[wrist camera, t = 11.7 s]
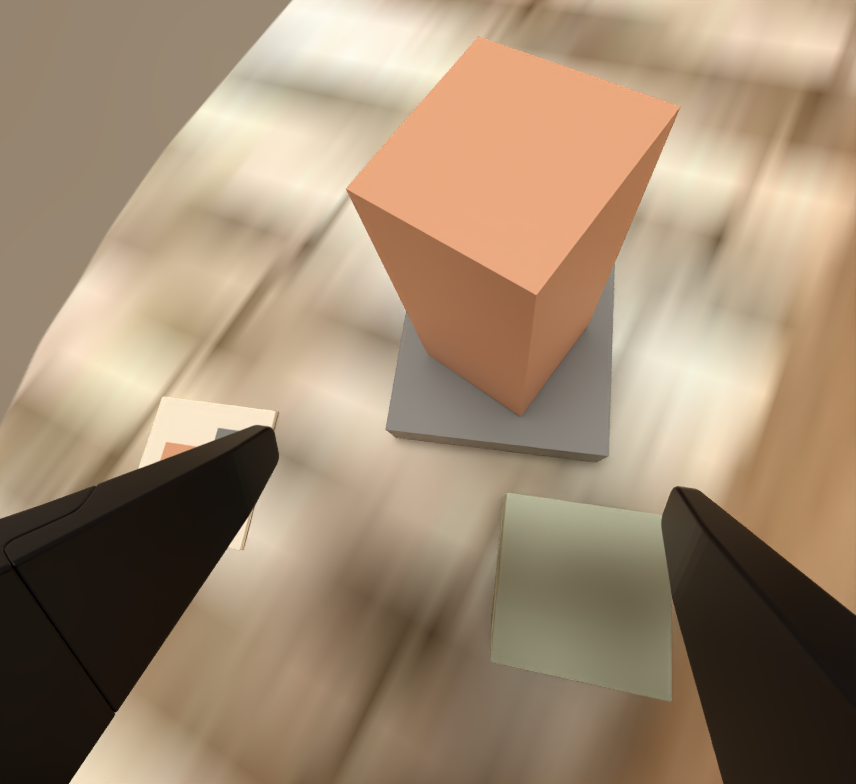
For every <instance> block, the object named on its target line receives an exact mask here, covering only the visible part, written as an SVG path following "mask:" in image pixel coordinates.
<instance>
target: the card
mask: <svg viewBox="0 0 856 784" xmlns="http://www.w3.org/2000/svg"><path fill="white" fill-rule="evenodd" d="M277 415H278V412H277V411H271V410H263V409H256V408H248V407H240V406H232V405H225V404H217V403H209V402H202V401H194V400H186V399H178V398H171V397H162V400H161V403H160V406H159V409H158V412H157V415H156V418H155V421H154V424H153V427H152V430H151V433H150V436H149V439H148V442H147V445H146V448H145V450H144V453H143V456H142V459H141V462H140V465H139V468H142V467H145V466H147V465H150V464H153V463H155V462H158V461H161V460H163V459H166V458H168V457H171V456H174V455H176V454H179V453H182V452H184V451H187V450H190V449H192V448H195V447H198V446H200V445H203V444H206V443H208V442H211V441H213V440H216V439H219V438H221V437H224V436H227V435H229V434H232V433H235V432H237V431H240V430H243V429H245V428H248V427H251V426H253V425H263V426H269V427H271V428H273V430H274V427H275V423H276V419H277ZM139 468H138V469H139ZM253 509H254V508H253ZM252 513H253V510H252V512H251V513H250V515H249V517H248V518H247V520H246V521H245V523H244V524H243V526H242V527H241V529H240V530H239V532H238V533H237V535H236V536H235V538H234V539H233V541H232V542H231V544H230V545H229V547H228V548H233V549H237V550H243V548H244V544H245V540H246V536H247V532H248V528H249V524H250V520H251V516H252Z"/></svg>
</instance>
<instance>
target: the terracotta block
mask: <svg viewBox="0 0 856 784" xmlns="http://www.w3.org/2000/svg"><path fill="white" fill-rule="evenodd" d="M679 109H680V106H677V105H674V104H671V103H669V102H666V101H663V100H660V99H657V98H654V97H651V96H648V95H646V94H643V93H640V92H637V91H634V90H631V89H628V88H625V87H622V86H620V85H617V84H614V83H611V82H608V81H605V80H602V79H599V78H597V77H594V76H591V75H588V74H585V73H582V72H579V71H576V70H573V69H571V68H568V67H565V66H562V65H559V64H556V63H553V62H550V61H548V60H545V59H542V58H539V57H536V56H533V55H530V54H527V53H524V52H522V51H519V50H516V49H513V48H510V47H507V46H504V45H501V44H499V43H496V42H493V41H490V40H487V39H484V38H481V37H478V38H477V39H476V40H475V41H474V42H473V43H472V44H471V46H470V47H469V48H468V49H467V50H466V51H465V52H464V54H463V55H462V56H461V57H460V58H459V59H458V60H457V62H456V63H455V64H454V65H453V66H452V67H451V69H450V70H449V71H448V72H447V73H446V74H445V75H444V77H443V78H442V79H441V80H440V81H439V82H438V83H437V85H436V86H435V87H434V88H433V89H432V90H431V91H430V93H429V94H428V95H427V96H426V97H425V98H424V100H423V101H422V102H421V103H420V104H419V105H418V106H417V108H416V109H415V110H414V111H413V112H412V113H411V114H410V116H409V117H408V118H407V119H406V120H405V121H404V122H403V124H402V125H401V126H400V127H399V128H398V129H397V130H396V132H395V133H394V134H393V135H392V136H391V137H390V139H389V140H388V141H387V142H386V143H385V144H384V145H383V147H382V148H381V149H380V150H379V151H378V152H377V153H376V155H375V156H374V157H373V158H372V159H371V160H370V161H369V163H368V164H367V165H366V166H365V167H364V168H363V170H362V171H361V172H360V173H359V174H358V175H357V176H356V178H355V179H354V180H353V181H352V182H351V183H350V184H349V186H348V187H347V188H346V190H347V192H348V194H349V196H350V198H351V200H352V202H353V204H354V206H355V208H356V210H357V212H358V214H359V216H360V218H361V220H362V222H363V224H364V226H365V228H366V230H367V233H368V235H369V237H370V239H371V241H372V243H373V245H374V247H375V249H376V251H377V253H378V255H379V257H380V259H381V261H382V263H383V265H384V267H385V269H386V271H387V273H388V275H389V277H390V279H391V281H392V283H393V285H394V287H395V289H396V291H397V293H398V295H399V297H400V299H401V301H402V303H403V305H404V308H405V310H406V312H407V314H408V316H409V318H410V320H411V322H412V324H413V326H414V328H415V330H416V332H417V334H418V336H419V338H420V340H421V342H422V344H423V346H424V348H425V350H426V352H427V354H428V355H430V356H431V357H433V358H434V359H436V360H437V361H439V362H440V363H442V364H443V365H445V366H446V367H448V368H449V369H450V370H452V371H453V372H455V373H456V374H458V375H459V376H461V377H462V378H464V379H465V380H467V381H468V382H470V383H471V384H473V385H474V386H476V387H477V388H479V389H480V390H481V391H483V392H484V393H486V394H487V395H489V396H490V397H492V398H493V399H495V400H496V401H498V402H499V403H501V404H502V405H504V406H505V407H507V408H508V409H510V410H511V411H512V412H514V413H515V414H517V415H518V416H520V417H521V416H522V415H523V413H524V412H525V411H526V409H527V408H528V407H529V405H530V404H531V402H532V401H533V400H534V398H535V397H536V396H537V394H538V393H539V392H540V390H541V389H542V387H543V386H544V385H545V383H546V382H547V381H548V379H549V378H550V377H551V375H552V374H553V373H554V371H555V370H556V368H557V367H558V366H559V364H560V363H561V362H562V360H563V359H564V358H565V356H566V355H567V353H568V352H569V351H570V349H571V348H572V347H573V345H574V344H575V343H576V341H577V340H578V339H579V337H580V336H581V334H582V333H583V332H584V330H585V329H586V328H587V326H588V325H589V323H590V320H591V318H592V316H593V313H594V311H595V309H596V306H597V304H598V301H599V299H600V297H601V294H602V292H603V290H604V287H605V285H606V282H607V280H608V278H609V275H610V273H611V271H612V268H613V266H614V263H615V261H616V259H617V256H618V254H619V252H620V249H621V247H622V244H623V242H624V240H625V237H626V235H627V233H628V230H629V228H630V225H631V223H632V221H633V218H634V216H635V214H636V211H637V209H638V206H639V204H640V202H641V199H642V197H643V195H644V192H645V190H646V187H647V185H648V183H649V180H650V178H651V176H652V173H653V171H654V168H655V166H656V164H657V161H658V159H659V156H660V154H661V152H662V149H663V147H664V145H665V142H666V140H667V137H668V135H669V133H670V130H671V128H672V126H673V123H674V121H675V118H676V116H677V114H678V111H679Z"/></svg>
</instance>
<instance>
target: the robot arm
mask: <svg viewBox="0 0 856 784" xmlns="http://www.w3.org/2000/svg"><path fill="white" fill-rule="evenodd" d="M278 460H279V452H278V447H277V442H276V437H275V432H274V430H273V428H271V427H269V426H263V425H253V426H251V427H248V428H245V429H243V430H240V431H237V432H235V433H232V434H229V435H227V436H224V437H221V438H219V439H216V440H213V441H211V442H208V443H206V444H203V445H200V446H198V447H195V448H192V449H190V450H187V451H184V452H182V453H179V454H176V455H174V456H171V457H168V458H166V459H163V460H161V461H158V462H155V463H153V464H150V465H147V466H145V467H142V468H139V469H137V470H134V471H131V472H129V473H126V474H123V475H121V476H118V477H115V478H113V479H110V480H108V481H105V482H102V483H100V484H98V485H97V486H91V487H89V488H86V489H84V490H81V491H78V492H76V493H73V494H70V495H67V496H65V497H62V498H59V499H56V500H54V501H51V502H48V503H45V504H43V505H40V506H37V507H34V508H31V509H28V510H25V511H22V512H19V513H16V514H13V515H10V516H7V517H4V518H1V519H0V784H69V783H70V781H71V780H72V778H73V777H74V775H75V774H76V772H77V771H78V769H79V768H80V766H81V765H82V763H83V762H84V760H85V759H86V757H87V756H88V754H89V753H90V752H91V750H92V749H93V747H94V746H95V744H96V743H97V741H98V740H99V738H100V737H101V735H102V734H103V732H104V731H105V729H106V728H107V726H108V725H109V723H110V722H111V720H112V719H113V717H114V716H115V713H114V712H117V711H118V710H119V708H120V707H121V705H122V704H123V702H124V701H125V699H126V698H127V696H128V695H129V693H130V692H131V690H132V689H133V687H134V686H135V684H136V683H137V681H138V680H139V679H140V677H141V676H142V674H143V673H144V671H145V670H146V668H147V667H148V665H149V664H150V662H151V661H152V659H153V658H154V656H155V655H156V653H157V652H158V650H159V649H160V647H161V646H162V644H163V643H164V641H165V640H166V638H167V637H168V636H169V634H170V633H171V631H172V630H173V628H174V627H175V625H176V624H177V622H178V621H179V619H180V618H181V616H182V615H183V613H184V612H185V610H186V609H187V607H188V606H189V604H190V603H191V601H192V600H193V598H194V597H195V596H196V594H197V593H198V591H199V590H200V588H201V587H202V585H203V584H204V582H205V581H206V579H207V578H208V576H209V575H210V573H211V572H212V570H213V569H214V567H215V566H216V564H217V563H218V561H219V560H220V558H221V557H222V556H223V554H224V553H225V551H226V550H227V548H228V547H229V545H230V544H231V542H232V541H233V539H234V538H235V536H236V535H237V533H238V532H239V530H240V529H241V527H242V526H243V524H244V523H245V521H246V520H247V518H248V517H249V515H250V513H251V512H252V510H253V508H254V506H255V504H256V503H257V501H258V499H259V497H260V495H261V493H262V491H263V490H264V488H265V486H266V484H267V482H268V480H269V478H270V476H271V475H272V473H273V471H274V469H275V467H276V465H277V463H278ZM661 529H662V536H663V542H664V549H665V555H666V562H667V568H668V575H669V582H670V588H671V593H672V599H673V603H674V607H675V611H676V614H677V618H678V622H679V625H680V629H681V633H682V636H683V640H684V643H685V647H686V651H687V654H688V658H689V661H690V665H691V669H692V672H693V676H694V679H695V683H696V687H697V690H698V694H699V697H700V701H701V705H702V708H703V712H704V715H705V719H706V723H707V726H708V730H709V733H710V737H711V741H712V744H713V748H714V752H715V755H716V759H717V762H718V766H719V770H720V773H721V777H722V780H723V784H856V615H855V614H854V613H852V612H851V611H850V610H849V609H847V608H846V607H845V606H844V605H842V604H841V603H840V602H839V601H837V600H836V599H835V598H834V597H832V596H831V595H830V594H829V593H827V592H826V591H825V590H823V589H822V588H821V587H820V586H818V585H817V584H816V583H815V582H813V581H812V580H811V579H810V578H808V577H807V576H806V575H805V574H803V573H802V572H801V571H800V570H798V569H797V568H796V567H795V566H793V565H792V564H791V563H790V562H788V561H787V560H786V559H785V558H783V557H782V556H781V555H780V554H778V553H777V552H776V551H775V550H773V549H772V548H771V547H770V546H768V545H767V544H766V543H765V542H763V541H762V540H761V539H760V538H758V537H757V536H756V535H755V534H753V533H752V532H751V531H750V530H748V529H747V528H746V527H745V526H743V525H742V524H741V523H740V522H738V521H737V520H736V519H735V518H733V517H732V516H731V515H730V514H728V513H727V512H726V511H725V510H723V509H722V508H721V507H720V506H718V505H717V504H716V503H714V502H713V501H712V500H711V499H709V498H708V497H707V496H706V495H704V494H703V493H702V492H701V491H699V490H697V489H694V488H687V487H680V486H677V487H674V488H673V489H672V491H671V493H670V496H669V498H668V501H667V504H666V507H665V509H664V512H663V515H662V519H661Z"/></svg>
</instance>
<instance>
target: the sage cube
mask: <svg viewBox="0 0 856 784" xmlns="http://www.w3.org/2000/svg"><path fill="white" fill-rule="evenodd" d="M661 519H662V515H659V514H652V513H646V512H639V511H632V510H625V509H618V508H611V507H604V506H597V505H590V504H584V503H577V502H570V501H563V500H556V499H549V498H542V497H535V496H529V495H522V494H515V493H508V492H507V493H506V495H505V497H504V498H503V508H502V518H501V528H500V538H499V548H498V558H497V568H496V578H495V588H494V598H493V608H492V618H491V662H492V663H497V664H501V665H506V666H510V667H515V668H519V669H524V670H528V671H533V672H537V673H542V674H546V675H551V676H556V677H560V678H565V679H569V680H574V681H578V682H583V683H587V684H592V685H596V686H601V687H605V688H610V689H614V690H619V691H623V692H628V693H633V694H637V695H642V696H646V697H651V698H655V699H660V700H664V701H669V702H672V630H671V588H670V582H669V575H668V568H667V562H666V555H665V549H664V542H663V536H662V529H661Z"/></svg>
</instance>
